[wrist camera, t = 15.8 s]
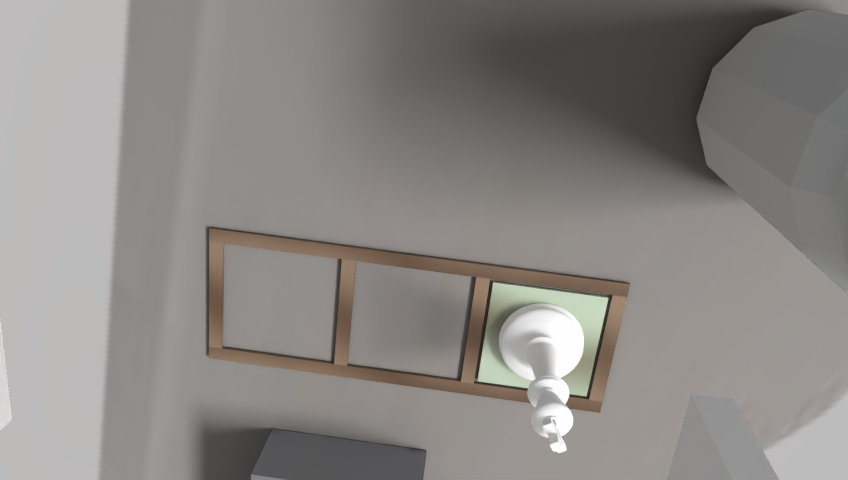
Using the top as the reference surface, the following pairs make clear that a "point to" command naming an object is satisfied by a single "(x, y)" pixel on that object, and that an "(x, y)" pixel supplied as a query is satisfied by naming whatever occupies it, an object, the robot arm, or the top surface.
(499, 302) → the brown wooden flat frame
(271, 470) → the housing
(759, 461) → the robot arm
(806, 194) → the jar
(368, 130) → the top surface
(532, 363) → the chess piece
